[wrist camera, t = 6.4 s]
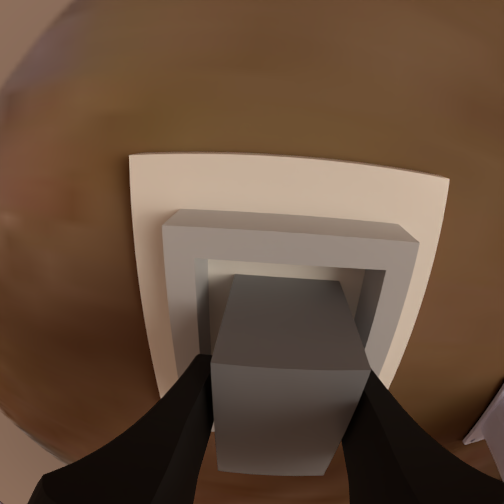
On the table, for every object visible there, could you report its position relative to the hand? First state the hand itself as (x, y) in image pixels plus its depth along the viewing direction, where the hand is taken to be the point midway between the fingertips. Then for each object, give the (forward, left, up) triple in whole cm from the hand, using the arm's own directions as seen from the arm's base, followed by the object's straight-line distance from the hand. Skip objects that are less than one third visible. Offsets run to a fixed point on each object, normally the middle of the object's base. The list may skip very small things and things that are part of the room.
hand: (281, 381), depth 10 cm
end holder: (0, 0, -4) cm, 4 cm away
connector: (0, 0, -3) cm, 3 cm away
